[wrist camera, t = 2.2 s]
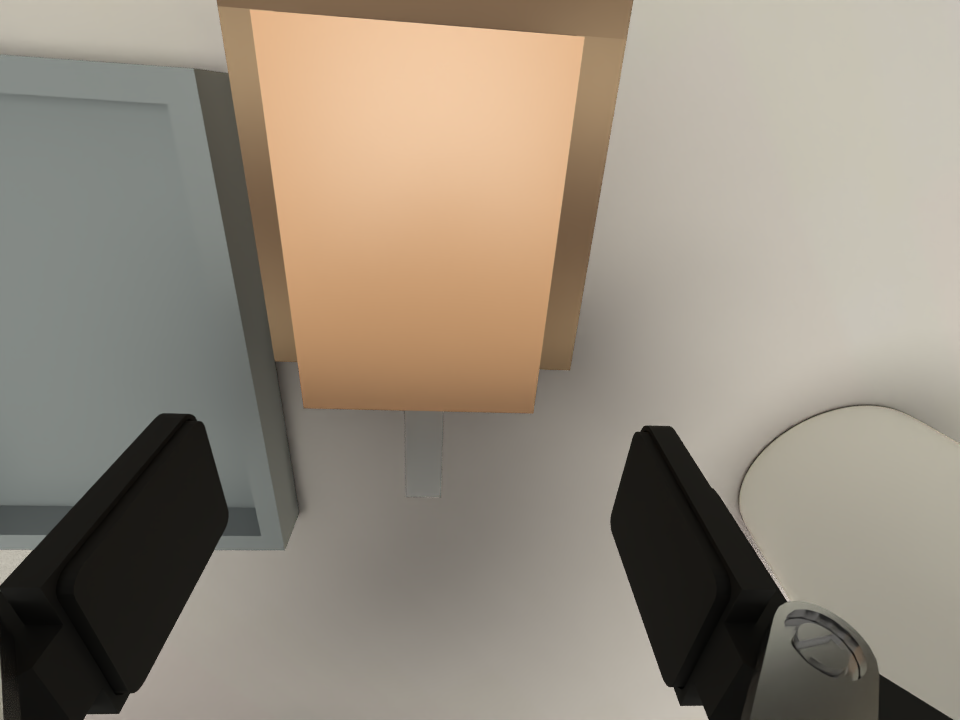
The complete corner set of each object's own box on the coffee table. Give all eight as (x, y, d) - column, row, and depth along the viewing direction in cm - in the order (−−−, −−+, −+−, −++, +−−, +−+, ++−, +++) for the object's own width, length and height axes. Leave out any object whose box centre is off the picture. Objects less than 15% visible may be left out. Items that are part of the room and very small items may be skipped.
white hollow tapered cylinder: (852, 346, 18) (1401, 676, 8) (987, 448, 21) (1524, 793, 10) (675, 508, 22) (882, 883, 11) (810, 577, 25) (1077, 929, 14)
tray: (299, 512, 21) (284, 550, 19) (-8, 510, 20) (-53, 549, 18) (228, 73, 13) (193, 68, 11) (-278, 37, 12) (-402, 25, 10)
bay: (542, 308, 17) (569, 370, 13) (318, 299, 16) (274, 361, 12) (580, 15, 13) (637, -25, 9) (286, -9, 12) (206, -64, 8)
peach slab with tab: (495, 396, 19) (516, 539, 12) (365, 392, 18) (321, 539, 12) (524, 68, 13) (584, 36, 7) (345, 54, 13) (249, 9, 7)
